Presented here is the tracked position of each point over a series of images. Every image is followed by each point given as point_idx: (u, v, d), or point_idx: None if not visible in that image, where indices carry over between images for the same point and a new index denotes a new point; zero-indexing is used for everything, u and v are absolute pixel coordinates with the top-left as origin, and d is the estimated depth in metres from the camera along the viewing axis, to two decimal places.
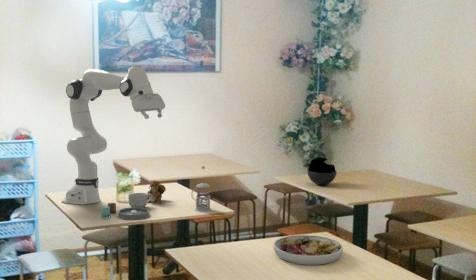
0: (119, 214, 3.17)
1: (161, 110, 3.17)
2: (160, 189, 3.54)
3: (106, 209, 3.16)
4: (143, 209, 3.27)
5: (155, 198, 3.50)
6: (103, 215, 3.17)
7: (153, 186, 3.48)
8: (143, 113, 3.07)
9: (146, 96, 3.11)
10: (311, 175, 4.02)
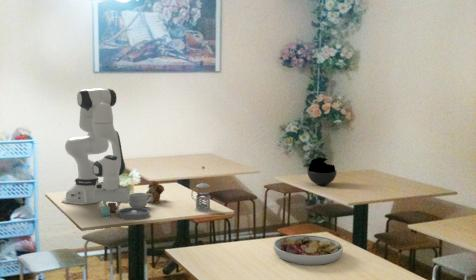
0: (119, 214, 3.17)
1: (118, 204, 3.25)
2: (159, 189, 3.54)
3: (106, 209, 3.16)
4: (143, 209, 3.27)
5: (154, 198, 3.49)
6: (103, 215, 3.17)
7: (152, 186, 3.47)
8: None
9: (106, 190, 3.24)
10: (311, 175, 4.02)
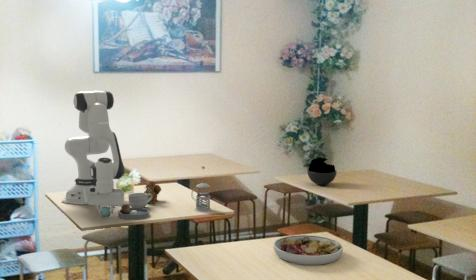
0: (119, 214, 3.17)
1: (112, 208, 3.16)
2: (156, 189, 3.53)
3: (106, 209, 3.16)
4: (143, 209, 3.27)
5: None
6: (103, 215, 3.17)
7: (149, 186, 3.46)
8: None
9: (100, 193, 3.15)
10: (311, 175, 4.02)
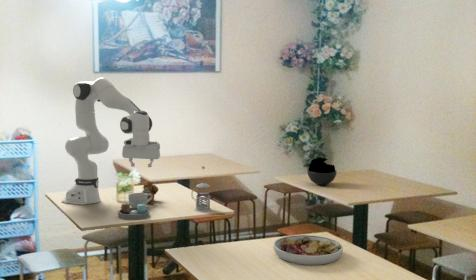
0: (119, 214, 3.17)
1: (152, 161, 3.15)
2: (153, 190, 3.53)
3: (142, 207, 3.18)
4: None
5: None
6: (139, 213, 3.18)
7: (147, 187, 3.46)
8: None
9: (136, 146, 3.14)
10: (311, 175, 4.02)
